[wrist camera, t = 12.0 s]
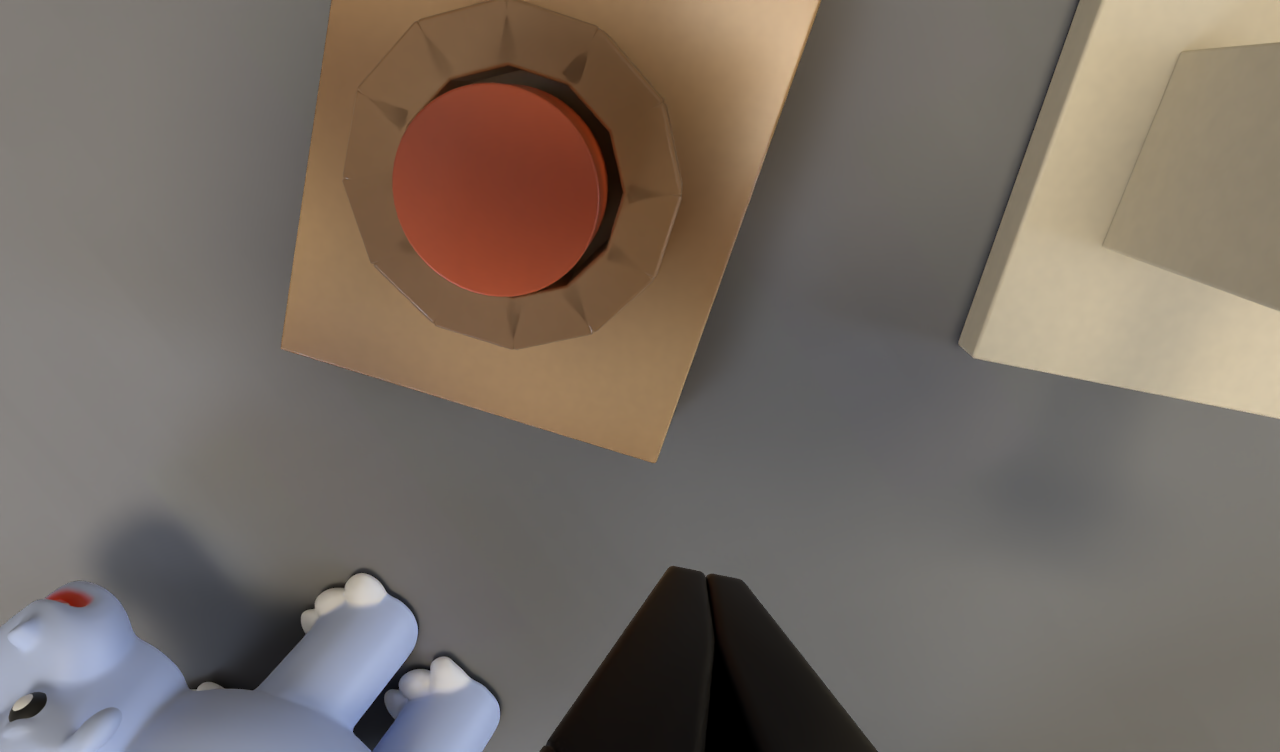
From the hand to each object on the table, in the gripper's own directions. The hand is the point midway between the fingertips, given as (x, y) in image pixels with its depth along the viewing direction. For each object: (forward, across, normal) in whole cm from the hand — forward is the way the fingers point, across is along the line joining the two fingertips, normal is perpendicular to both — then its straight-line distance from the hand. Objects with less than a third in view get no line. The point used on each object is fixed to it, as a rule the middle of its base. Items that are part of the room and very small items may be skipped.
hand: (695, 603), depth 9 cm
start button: (+9, +4, -3) cm, 10 cm away
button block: (+13, +4, -3) cm, 14 cm away
